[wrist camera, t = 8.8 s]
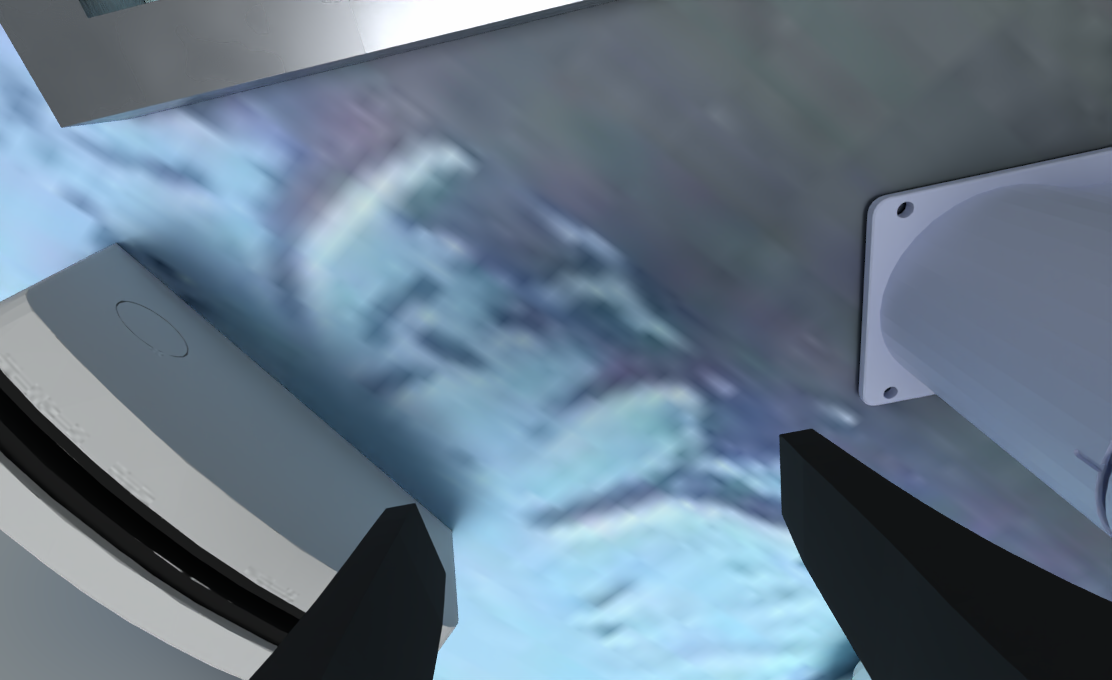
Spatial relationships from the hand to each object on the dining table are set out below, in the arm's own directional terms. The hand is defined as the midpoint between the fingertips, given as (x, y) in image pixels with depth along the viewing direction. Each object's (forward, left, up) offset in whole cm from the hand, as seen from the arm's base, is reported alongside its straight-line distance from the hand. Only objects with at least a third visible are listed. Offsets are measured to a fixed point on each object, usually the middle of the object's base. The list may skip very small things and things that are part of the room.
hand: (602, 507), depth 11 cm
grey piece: (+12, +2, -10) cm, 15 cm away
